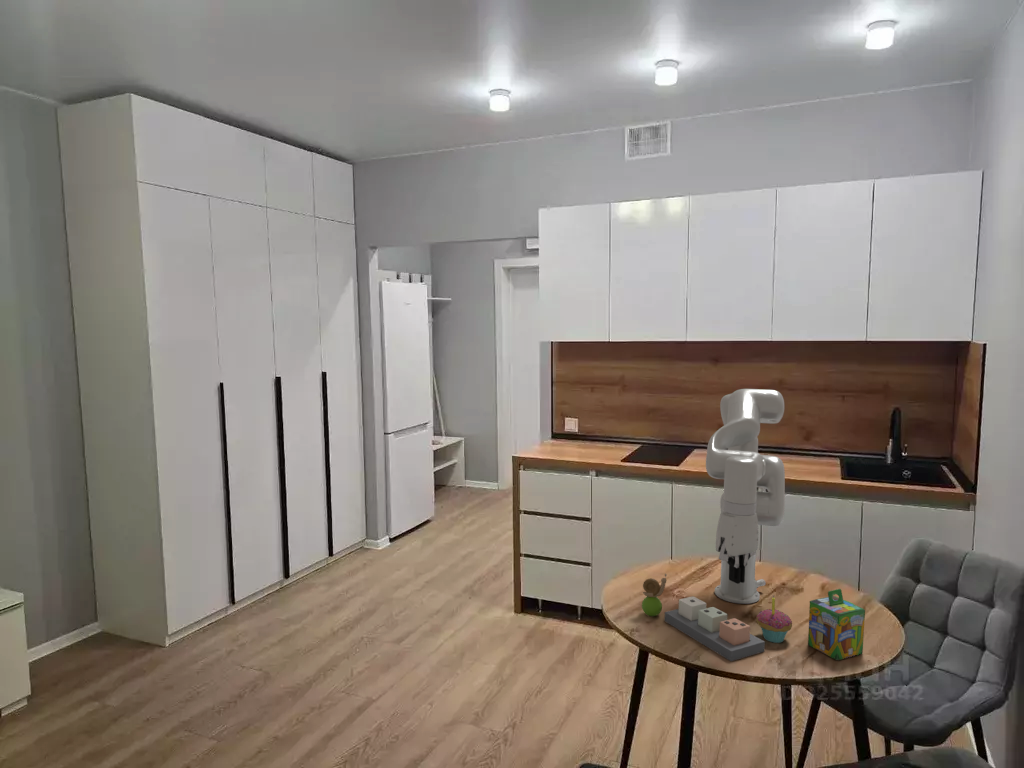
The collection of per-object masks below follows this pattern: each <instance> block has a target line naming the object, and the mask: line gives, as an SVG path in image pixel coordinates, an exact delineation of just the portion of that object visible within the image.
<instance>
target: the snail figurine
mask: <svg viewBox="0 0 1024 768" xmlns="http://www.w3.org/2000/svg"><path fill="white" fill-rule="evenodd" d="M660 581H661V584H660V583H659V582H658V580H657V579H655V578H647V579H645V580H644V581H643V583H642V588H643V590H644V591H642V594H643V595H644V596H645V597H644V598H643V599H642V602H641V608H642V611H643V613H644V614H645V615H647V616H649V617H657V616H658V615H660V614H661V612H662V608H663V604H662V601H661V599H660V598H659V596H661V595H662V594H663V593H664V591H665V587H666V583H667V573H664V577H662V578H661V579H660Z"/></svg>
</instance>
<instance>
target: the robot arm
mask: <svg viewBox="0 0 1024 768" xmlns="http://www.w3.org/2000/svg"><path fill="white" fill-rule="evenodd" d="M719 406H720V408H719V409H720V414H721V415H720V416H721V420H722V424H723V426H722V427H720V428H718V430H716V431H715V432H714V433H713V434H712V435H711V436H710V438H709V440H708V444H707V449H706V454H705V455H706V457H705V470H706V473H707V474H708V476H709V477H711V478H713V479H717V480H723V493H722V495H721V496H720V500H719V503H720V504H719V505H720V506H719V509H720V515H719V518H718V522H717V528H716V536H715V537H716V538H715V550H716V552H718V553H719V554H718V560H720V561H721V563H720V564H721V565H720V566H721V567H720V584H719V585H717V586H715V588H714V594H715V596H717V597H718V598H719V599H721V600H723V601H726V602H730V603H733V604H741V605H742V604H745V605H747V604H754V603H756V602H758V601H759V600H760V599H761V598H760V595H761V594H760V592H759V591H758V588H759V587H763V586H765V585H766V583H767V582H766V580H765V579H763V578H761V579H757V580H756V576H755V575H756V558H757V557H756V556H757V555H756V554H757V551H758V548H759V547H758V546H759V534H760V533H759V526H768V527H778V526H780V525H781V524H783V523H784V518H785V507H786V506H785V502H786V501H785V499H786V498H785V496H786V495H785V494H786V493H785V491H786V489H785V488H786V487H785V486H786V485H785V484H786V483H785V482H786V480H785V479H786V475H785V473H786V472H785V464H784V462H783V460H782V459H781V458H780V457H779V456H775V455H767V454H761V453H759V438H758V436H759V434H760V432H761V424H778V423H780V422H781V420H782V419H783V416H784V414H785V399H784V397H783V394H782V393H781V392H780V391H778V390H775V389H764V388H763V389H758V388H741V389H737V390H735V391H733V392H732V393H729V394H726V395H723V397H721V400H720V405H719ZM757 488H762V489H766V490H767V491H758V489H757Z"/></svg>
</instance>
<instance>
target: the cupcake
mask: <svg viewBox="0 0 1024 768" xmlns="http://www.w3.org/2000/svg"><path fill="white" fill-rule="evenodd" d="M775 604H776V598H775V595H772V598H771V609H770V608H769V609H765V610H761V611H760V612H759V613H757V614H756V620H755V621H756V623H757V624H758V626H759V627H760V628H761V632H762V635H763V638H764V639H765V640H766V641H768V642H770V643H777V644H778V643H780V644H781V643H783V642H784V640H785V637H786V635H787V634H788V632H789V631H790V630H792V627H793V621H792V618H791V617H790V616H789V615H787V614H786V613H784V612H783V611H781V610H778V609H775V608H776V607H775V606H776V605H775Z"/></svg>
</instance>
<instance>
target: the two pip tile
mask: <svg viewBox="0 0 1024 768" xmlns="http://www.w3.org/2000/svg"><path fill="white" fill-rule="evenodd" d="M725 620H728V613H726V612H725V611H722V610H720V609H718V608H716V607H715V606H712V607H711V606H710V607H706V609H702V610H699V613H698V625H699V626H701V627H703V628H704V629H706V630H708V631H710V632H711V633H713V632H717V631H720V622H722V621H725Z"/></svg>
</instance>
